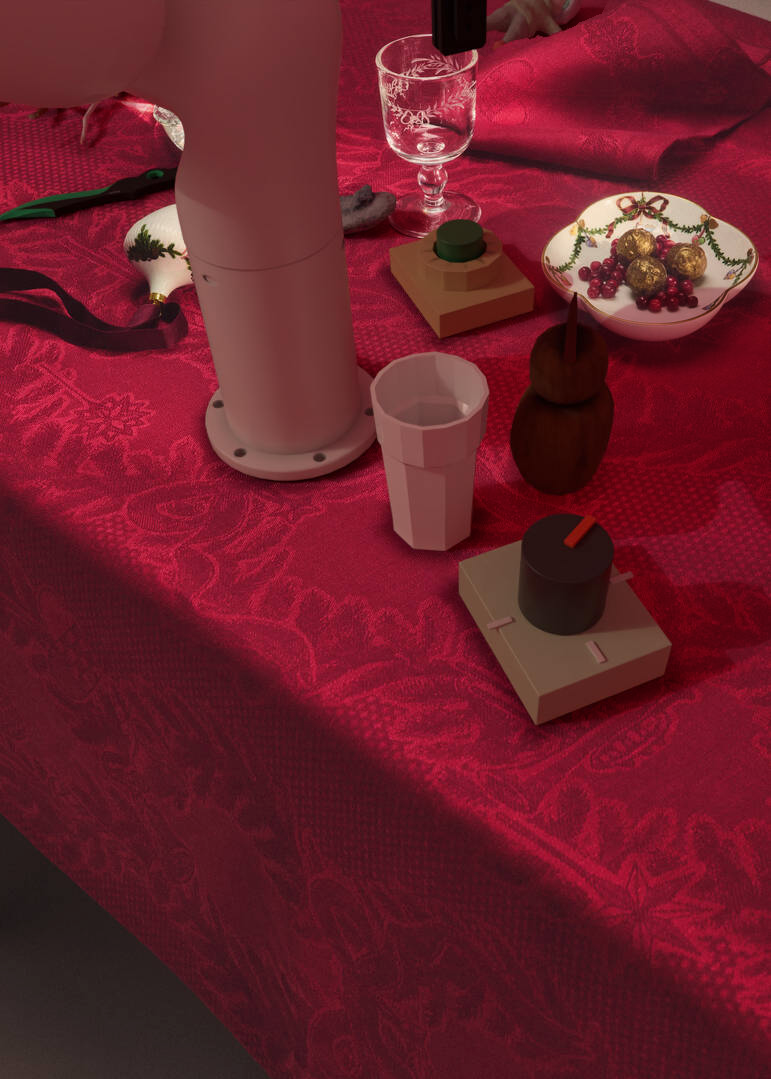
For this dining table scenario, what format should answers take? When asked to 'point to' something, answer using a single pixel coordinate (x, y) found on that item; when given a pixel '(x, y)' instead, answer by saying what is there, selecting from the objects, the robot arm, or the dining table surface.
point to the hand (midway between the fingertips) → (459, 46)
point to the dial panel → (561, 639)
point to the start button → (459, 241)
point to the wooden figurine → (564, 409)
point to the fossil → (366, 209)
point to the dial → (564, 573)
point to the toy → (530, 18)
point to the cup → (430, 444)
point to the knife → (96, 195)
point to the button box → (461, 285)
